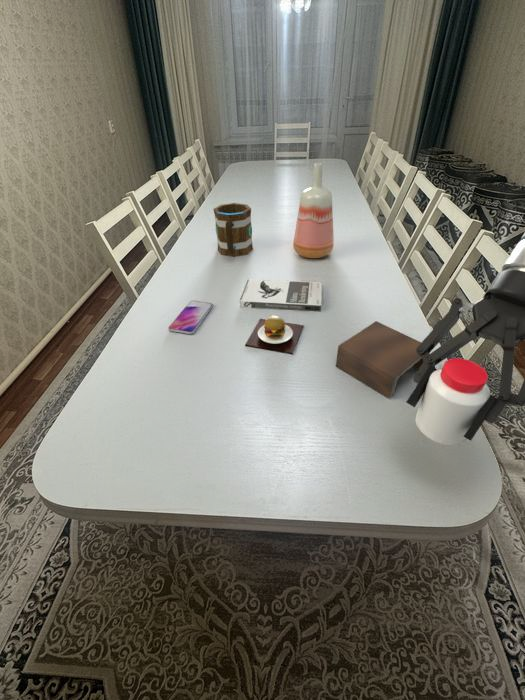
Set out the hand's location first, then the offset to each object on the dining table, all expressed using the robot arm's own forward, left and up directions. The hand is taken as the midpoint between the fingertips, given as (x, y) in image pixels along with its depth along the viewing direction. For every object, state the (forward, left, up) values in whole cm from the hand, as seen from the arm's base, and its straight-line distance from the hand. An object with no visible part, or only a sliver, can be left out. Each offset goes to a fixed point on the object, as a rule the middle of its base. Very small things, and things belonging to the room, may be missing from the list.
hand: (437, 420), depth 51 cm
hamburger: (+45, -10, -14) cm, 48 cm away
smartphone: (+67, +1, -14) cm, 68 cm away
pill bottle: (0, -3, -4) cm, 5 cm away
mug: (+94, -35, -14) cm, 101 cm away
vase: (+73, -55, -14) cm, 92 cm away
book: (+58, -25, -14) cm, 65 cm away
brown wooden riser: (+20, -19, -14) cm, 31 cm away
